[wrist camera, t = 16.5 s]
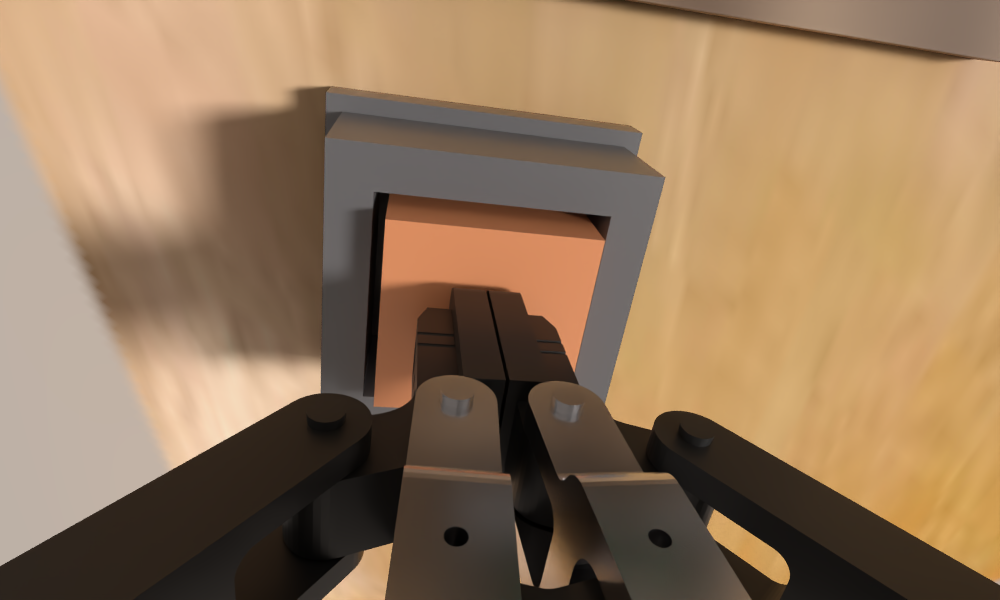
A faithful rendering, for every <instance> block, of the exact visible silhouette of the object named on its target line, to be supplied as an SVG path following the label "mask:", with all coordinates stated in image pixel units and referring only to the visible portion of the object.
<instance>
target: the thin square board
mask: <svg viewBox="0 0 1000 600" xmlns="http://www.w3.org/2000/svg"><path fill="white" fill-rule="evenodd" d="M627 1H633V2H639V3H645V4H651V5H657V6H663V7H669V8H674V9H680V10H686V11H692V12H698V13H704V14H710V15H716V16H722V17H728V18H734V19H740V20H746V21H752V22H758V23H764V24H769V25H775V26H781V27H787V28H793V29H799V30H805V31H811V32H817V33H823V34H829V35H835V36H841V37H847V38H853V39H859V40H864V41H870V42H876V43H882V44H888V45H894V46H900V47H906V48H912V49H918V50H924V51H930V52H936V53H942V54H948V55H954V56H959V57H965V58H971V59H977V60H986V61H995V62H1000V0H627Z"/></svg>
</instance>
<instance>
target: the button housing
mask: <svg viewBox="0 0 1000 600" xmlns="http://www.w3.org/2000/svg"><path fill="white" fill-rule="evenodd" d="M641 137H642V133H641V132H640V131H638V130H636V129H635V128H633V127H632V126H628V125H620V124H613V123H605V122H597V121H590V120H582V119H575V118H567V117H560V116H552V115H544V114H537V113H529V112H522V111H514V110H506V109H499V108H491V107H484V106H476V105H469V104H461V103H453V102H446V101H438V100H431V99H423V98H416V97H408V96H400V95H393V94H385V93H378V92H370V91H362V90H355V89H347V88H340V87H332V86H331V87H330V88H329V89H328V90H327V91H326V118H325V163H324V225H323V286H322V347H321V393H336V394H342V395H347V396H350V397H353V398H355V399H357V400H359V401H361V402H362V403H364V404H365V405H366V406H367V407H368V409H369V410H370V412H371V414H372V415H374V414H380V413H385V412H389V411H392V410H395V409H397V408H393V407H374V391H375V375H376V359H377V343H378V328H379V312H380V296H381V280H382V264H383V249H384V233H385V218H386V212H387V206H388V200H389V194H390V193H391V194H401V195H411V196H420V197H430V198H439V199H449V200H458V201H468V202H477V203H487V204H496V205H506V206H516V207H525V208H535V209H544V210H554V211H563V212H573V213H582V214H586V216H587V217H588V218H589V220H590V221H591V222H592V224H593V225H594V226H595V228H596V229H597V230H598V232H599V233H600V234H601V236H602V237H603V238H604V240H605V244H604V248H603V252H602V256H601V261H600V265H599V269H598V274H597V278H596V282H595V286H594V291H593V295H592V299H591V303H590V308H589V312H588V316H587V320H586V325H585V329H584V333H583V338H582V342H581V346H580V350H579V355H578V359H577V363H576V367H575V372H574V373H575V376H576V378H577V381H578V383H579V385H580V386H583V387H585V388H587V389H589V390H590V391H592V392H594V393H595V394H596V395H597V396H599V397H600V398H601V400H602V401H603V402H604V404H605V401H606V397H607V393H608V390H609V386H610V382H611V378H612V375H613V371H614V367H615V363H616V360H617V356H618V352H619V348H620V345H621V341H622V337H623V334H624V330H625V326H626V322H627V319H628V315H629V311H630V307H631V304H632V300H633V296H634V292H635V289H636V285H637V281H638V278H639V274H640V270H641V266H642V263H643V259H644V255H645V251H646V248H647V244H648V240H649V236H650V233H651V229H652V225H653V222H654V218H655V214H656V210H657V207H658V203H659V199H660V195H661V192H662V188H663V184H664V180H665V177H664V176H662V175H661V174H660V173H659V172H657V171H656V170H655V169H653V168H652V167H651V166H649V165H648V164H647V163H645V162H644V161H643V160H641V159H640V158H639V157H637V154H638V149H639V145H640V141H641Z"/></svg>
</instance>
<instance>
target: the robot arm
mask: <svg viewBox="0 0 1000 600" xmlns="http://www.w3.org/2000/svg"><path fill="white" fill-rule="evenodd" d="M714 509H715V510H717V511H718V512H720V513H721V514H723V515H724V516H726V517H727V518H729V519H730V520H732V521H733V522H735V523H736V524H738V525H739V526H741V527H742V528H744V529H745V530H747V531H748V532H750V533H751V534H753V535H754V536H756V537H757V538H759V539H760V540H762V541H763V542H765V543H766V544H768V545H769V546H771V547H772V548H774V549H775V550H776V551H777V552H779V553H780V554H781V556H782V557H783V558H784V559H785V561H786V563H787V565H788V567H789V570H790V579H789V582H788V584H787V585H784V584H779V583H777V582H775V581H773V580H771V579H770V578H768V577H767V576H765V575H764V574H762V573H761V572H760V571H758V570H757V569H755V568H754V567H752V566H751V565H750V564H748V563H747V562H745V561H744V560H742V559H741V558H740V557H738V556H737V555H735V554H734V553H732V552H731V551H730V550H728V549H727V548H725V547H724V546H722V545H721V544H720V543H718V542H717V541H715V540H714V539H713V537H712V536H711V534H710V533H709V531H708V529H707V525H708V523H709V520H710V518H711V515H712V513H713V510H714ZM390 543H393V547H392V554H391V561H390V568H389V575H388V582H387V589H386V596H385V600H1000V585H998V584H997V583H995V582H993V581H991V580H990V579H988V578H986V577H984V576H983V575H981V574H979V573H977V572H976V571H974V570H972V569H970V568H969V567H967V566H965V565H964V564H962V563H960V562H958V561H957V560H955V559H953V558H951V557H950V556H948V555H946V554H944V553H943V552H941V551H939V550H937V549H936V548H934V547H932V546H930V545H929V544H927V543H925V542H923V541H922V540H920V539H918V538H916V537H915V536H913V535H911V534H909V533H908V532H906V531H904V530H902V529H901V528H899V527H897V526H895V525H894V524H892V523H890V522H888V521H887V520H885V519H883V518H881V517H880V516H878V515H876V514H874V513H873V512H871V511H869V510H867V509H866V508H864V507H862V506H860V505H859V504H857V503H855V502H853V501H852V500H850V499H848V498H846V497H845V496H843V495H841V494H839V493H838V492H836V491H834V490H832V489H831V488H829V487H827V486H825V485H824V484H822V483H820V482H818V481H817V480H815V479H813V478H811V477H810V476H808V475H806V474H804V473H803V472H801V471H799V470H797V469H796V468H794V467H792V466H790V465H789V464H787V463H785V462H783V461H782V460H780V459H778V458H776V457H775V456H773V455H771V454H770V453H768V452H766V451H764V450H763V449H761V448H759V447H757V446H756V445H754V444H752V443H750V442H749V441H747V440H745V439H743V438H742V437H740V436H738V435H736V434H735V433H733V432H731V431H729V430H728V429H726V428H724V427H722V426H721V425H719V424H717V423H715V422H714V421H712V420H710V419H708V418H705V417H703V416H701V415H697V414H694V413H690V412H684V411H670V412H665V413H663V414H661V415H659V416H658V417H657V418H656V420H655V422H654V425H653V428H652V430H649V429H645V428H641V427H637V426H633V425H629V424H625V423H622V422H619V421H616V420H614V419H613V418H612V416H611V414H610V413H609V411H608V409H607V407H606V406H605V404H604V402H603V401H602V400H601V398H600V397H599V396H597V395H596V394H595V393H594V392H592V391H590V390H589V389H587V388H585V387H583V386H580V385H579V383H578V381H577V378H576V376H575V373H574V371H573V368H572V366H571V364H570V361H569V359H568V356H567V355H566V351H565V349H564V346H563V344H561V339H560V337H559V334H558V332H557V329H556V328H555V327H554V326H553V325H552V324H551V323H550V322H549V321H547V320H546V319H545V318H544V317H543V316H538V315H528V313H527V310H526V307H525V304H524V301H523V298H522V295H521V293H517V292H505V291H492V290H487V292H486V290H478V289H466V288H452V291H451V296H450V304H449V309H442V308H428V307H427V309H426V310H425V311H424V312H423V313H422V314H421V315H420V316H419V317H418V319H417V329H416V340H415V350H414V361H413V371H412V395H411V400H410V401H409V402H408V403H406V404H405V405H403V406H402V407H400V408H397V409H395V410H392V411H389V412H385V413H380V414H374V415H372V414H371V412H370V410H369V409H368V407H367V406H366V405H365V404H364V403H362V402H361V401H359V400H357V399H355V398H353V397H350V396H347V395H342V394H336V393H321V394H314V395H309V396H306V397H303V398H300V399H298V400H296V401H294V402H292V403H290V404H289V405H287V406H285V407H283V408H281V409H280V410H278V411H276V412H274V413H272V414H271V415H269V416H267V417H265V418H264V419H262V420H260V421H258V422H256V423H255V424H253V425H251V426H249V427H248V428H246V429H244V430H242V431H240V432H239V433H237V434H235V435H233V436H231V437H230V438H228V439H226V440H224V441H223V442H221V443H219V444H217V445H215V446H214V447H212V448H210V449H208V450H207V451H205V452H203V453H201V454H199V455H198V456H196V457H194V458H192V459H190V460H189V461H187V462H185V463H183V464H182V465H180V466H178V467H176V468H174V469H173V470H171V471H169V472H167V473H166V474H164V475H162V476H160V477H158V478H157V479H155V480H153V481H151V482H150V483H148V484H146V485H144V486H142V487H141V488H139V489H137V490H135V491H133V492H132V493H130V494H128V495H126V496H125V497H123V498H121V499H119V500H117V501H116V502H114V503H112V504H110V505H109V506H107V507H105V508H103V509H102V510H100V511H98V512H96V513H94V514H92V515H91V516H89V517H87V518H85V519H84V520H82V521H80V522H78V523H76V524H75V525H73V526H71V527H69V528H67V529H66V530H64V531H62V532H60V533H59V534H57V535H55V536H53V537H51V538H50V539H48V540H46V541H44V542H43V543H41V544H39V545H37V546H36V547H34V548H32V549H30V550H28V551H26V552H25V553H23V554H21V555H19V556H18V557H16V558H14V559H12V560H10V561H9V562H7V563H5V564H3V565H2V566H0V600H322V599H323V598H324V597H325V596H326V595H327V594H328V593H329V592H330V591H331V590H332V589H333V588H334V587H335V586H337V585H338V584H339V583H340V582H341V581H342V580H343V579H344V578H345V577H346V576H347V575H348V574H349V573H350V572H351V571H352V570H353V569H354V568H355V567H356V566H357V565H358V564H359V562H360V560H361V558H362V556H363V553H364V550H368V549H372V548H375V547H379V546H382V545H386V544H390ZM520 579H521V583H520Z"/></svg>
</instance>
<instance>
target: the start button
mask: <svg viewBox="0 0 1000 600" xmlns="http://www.w3.org/2000/svg"><path fill="white" fill-rule="evenodd" d="M604 244H605V240H604V238H603V237H602V236H601V234H600V233H599V232H598V230H597V229H596V228H595V226H594V225H593V224H592V222H591V221H590V220H589V218H588V217H587V216H586V214H582V213H573V212H563V211H554V210H544V209H535V208H525V207H516V206H506V205H496V204H487V203H477V202H468V201H458V200H449V199H439V198H430V197H420V196H411V195H401V194H391V193H390V194H389V200H388V206H387V212H386V218H385V233H384V249H383V264H382V280H381V296H380V312H379V328H378V343H377V359H376V375H375V391H374V407H393V408H400V407H402V406H403V405H405V404H406V403H408V402H409V401H410V400H411V395H412V371H413V361H414V350H415V340H416V329H417V319H418V317H419V316H420V315H421V314H422V313H423V312H424V311H425V310H426V309H427V307H428V308H442V309H449V304H450V296H451V291H452V288H466V289H478V290H486V292H487V290H492V291H505V292H517V293H521V295H522V298H523V301H524V304H525V307H526V310H527V313H528V315H538V316H543V317H544V318H545V319H546V320H547V321H549V322H550V323H551V324H552V325H553V326H554V327H555V328H556V329H557V332H558V334H559V337H560V339H561V344H563V346H564V349H565V351H566V355H567V356H568V359H569V361H570V364H571V366H572V368H573V371H574V372H575V367H576V363H577V359H578V355H579V350H580V346H581V342H582V338H583V333H584V329H585V325H586V320H587V316H588V312H589V308H590V303H591V299H592V295H593V291H594V286H595V282H596V278H597V274H598V269H599V265H600V261H601V256H602V252H603V248H604Z"/></svg>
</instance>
